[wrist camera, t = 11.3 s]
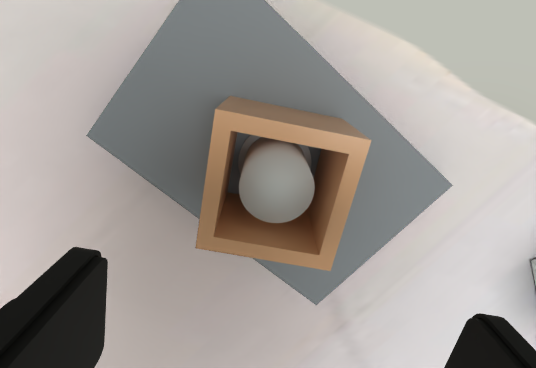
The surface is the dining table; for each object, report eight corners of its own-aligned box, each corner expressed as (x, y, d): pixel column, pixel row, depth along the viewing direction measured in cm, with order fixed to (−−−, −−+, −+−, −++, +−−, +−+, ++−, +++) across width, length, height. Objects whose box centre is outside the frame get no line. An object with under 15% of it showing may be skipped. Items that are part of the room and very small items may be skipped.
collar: (342, 118, 20) (371, 140, 15) (314, 219, 23) (330, 271, 17) (230, 95, 20) (215, 108, 14) (213, 200, 22) (195, 248, 16)
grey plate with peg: (441, 177, 23) (503, 219, 17) (313, 292, 26) (327, 360, 20) (217, -42, 19) (193, -93, 12) (98, 130, 22) (32, 157, 16)
